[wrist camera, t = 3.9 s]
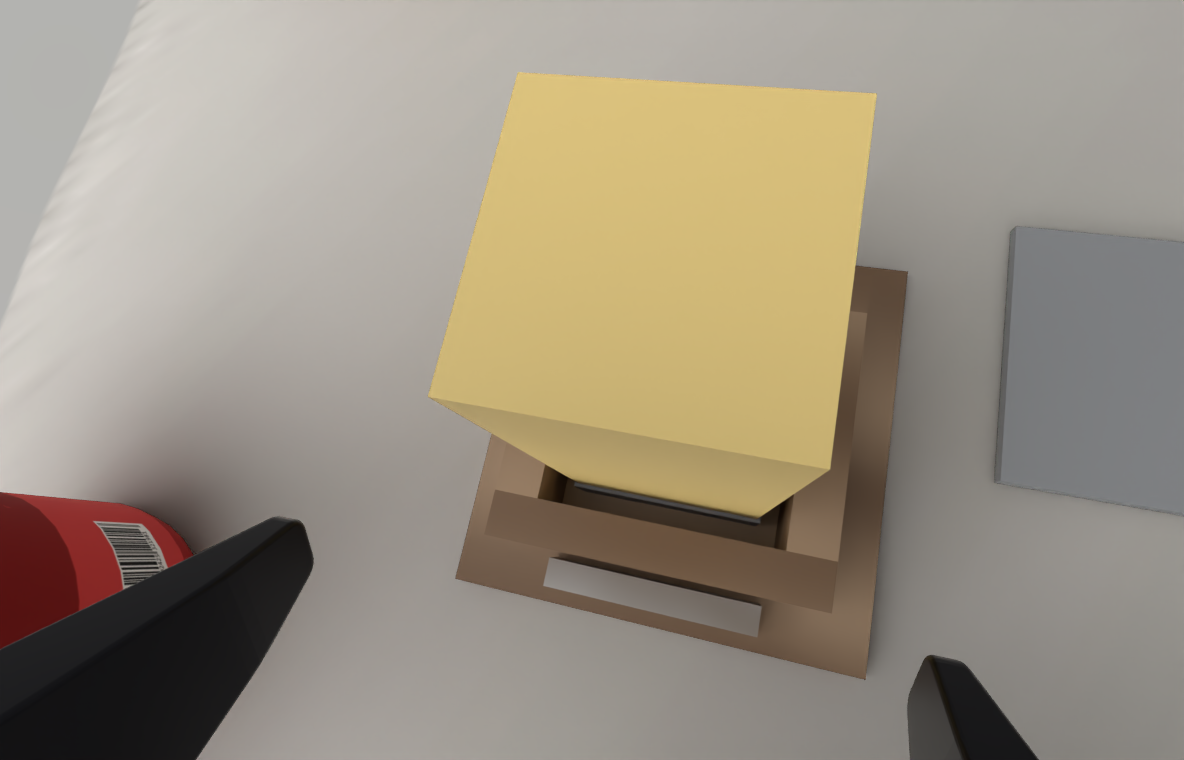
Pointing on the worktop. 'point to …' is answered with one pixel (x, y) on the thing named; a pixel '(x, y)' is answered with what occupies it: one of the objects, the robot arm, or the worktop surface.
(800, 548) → the socket
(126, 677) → the robot arm
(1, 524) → the canned food
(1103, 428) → the stand
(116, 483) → the worktop surface
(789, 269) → the plug
